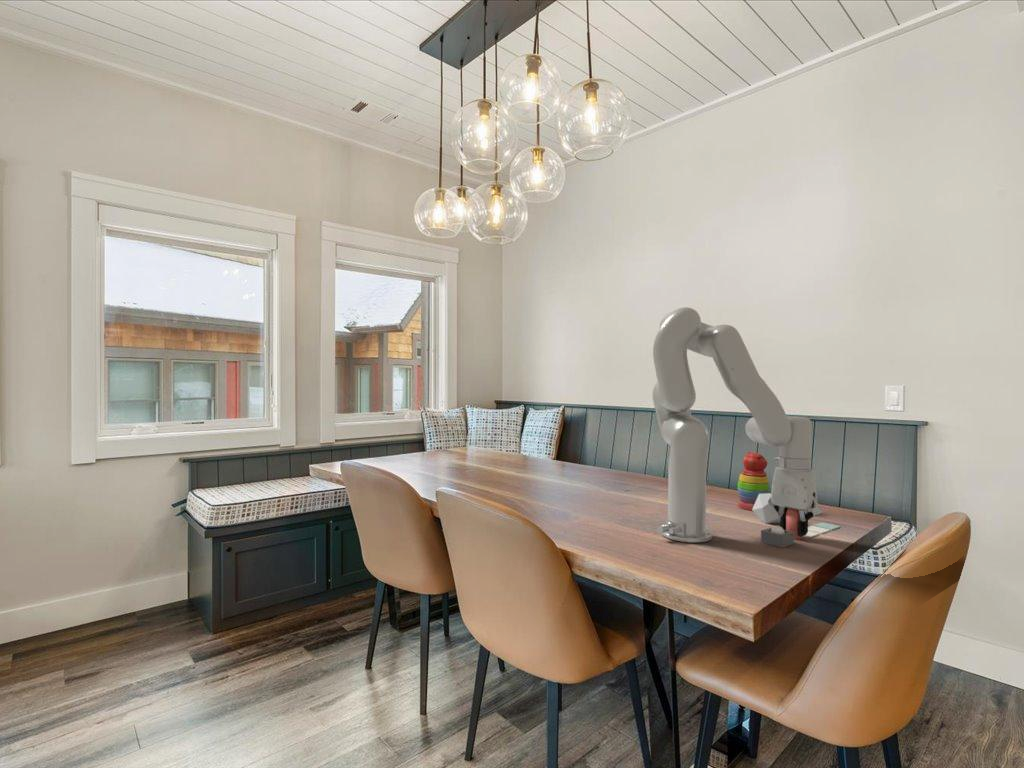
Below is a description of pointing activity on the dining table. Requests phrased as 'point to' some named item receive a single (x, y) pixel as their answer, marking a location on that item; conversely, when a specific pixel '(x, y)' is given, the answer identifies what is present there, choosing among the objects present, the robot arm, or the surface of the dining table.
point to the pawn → (793, 522)
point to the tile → (826, 526)
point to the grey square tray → (777, 538)
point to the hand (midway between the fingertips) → (793, 532)
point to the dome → (777, 530)
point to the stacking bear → (752, 480)
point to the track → (815, 531)
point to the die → (765, 509)
